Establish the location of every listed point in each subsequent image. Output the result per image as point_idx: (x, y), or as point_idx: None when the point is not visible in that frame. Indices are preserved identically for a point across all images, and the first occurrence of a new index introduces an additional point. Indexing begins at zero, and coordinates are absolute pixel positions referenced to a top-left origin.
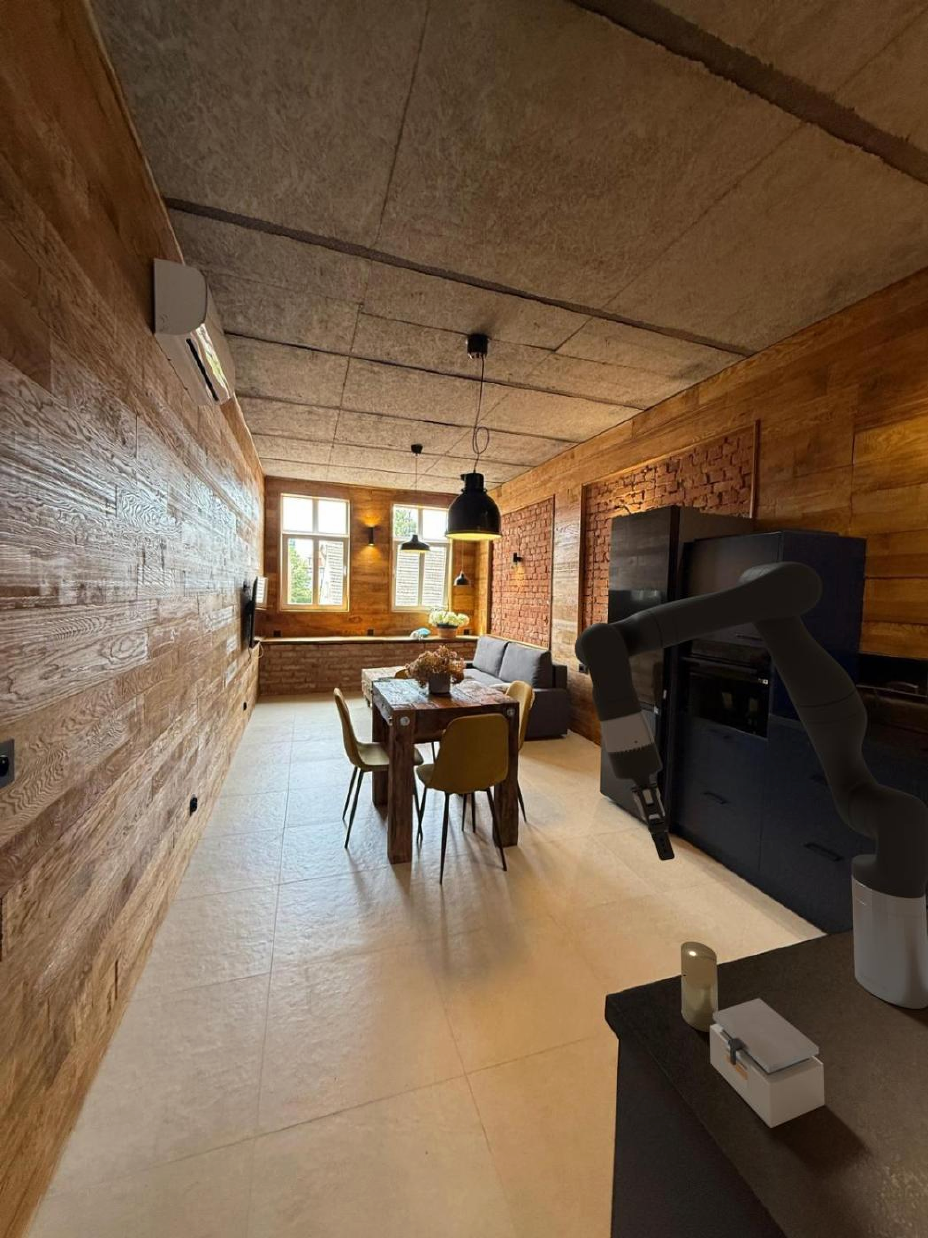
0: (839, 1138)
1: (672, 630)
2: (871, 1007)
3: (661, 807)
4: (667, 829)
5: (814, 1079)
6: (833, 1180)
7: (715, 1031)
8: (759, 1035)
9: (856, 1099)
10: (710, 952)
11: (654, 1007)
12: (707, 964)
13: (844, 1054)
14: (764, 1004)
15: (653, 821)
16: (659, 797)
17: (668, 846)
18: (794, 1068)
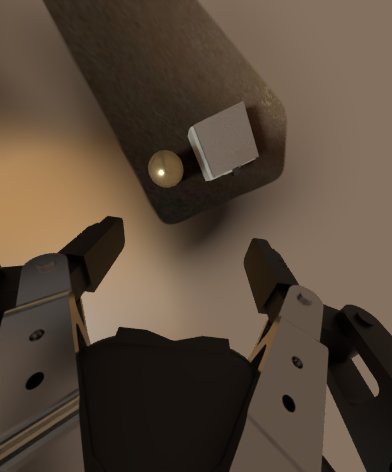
0: None
1: None
2: None
3: (322, 373)
4: (367, 313)
5: None
6: (267, 141)
7: (215, 177)
8: (233, 148)
9: (223, 86)
10: (164, 155)
11: (161, 204)
12: (182, 166)
13: (186, 63)
14: (201, 123)
15: (97, 268)
16: (321, 451)
17: (285, 266)
18: None
